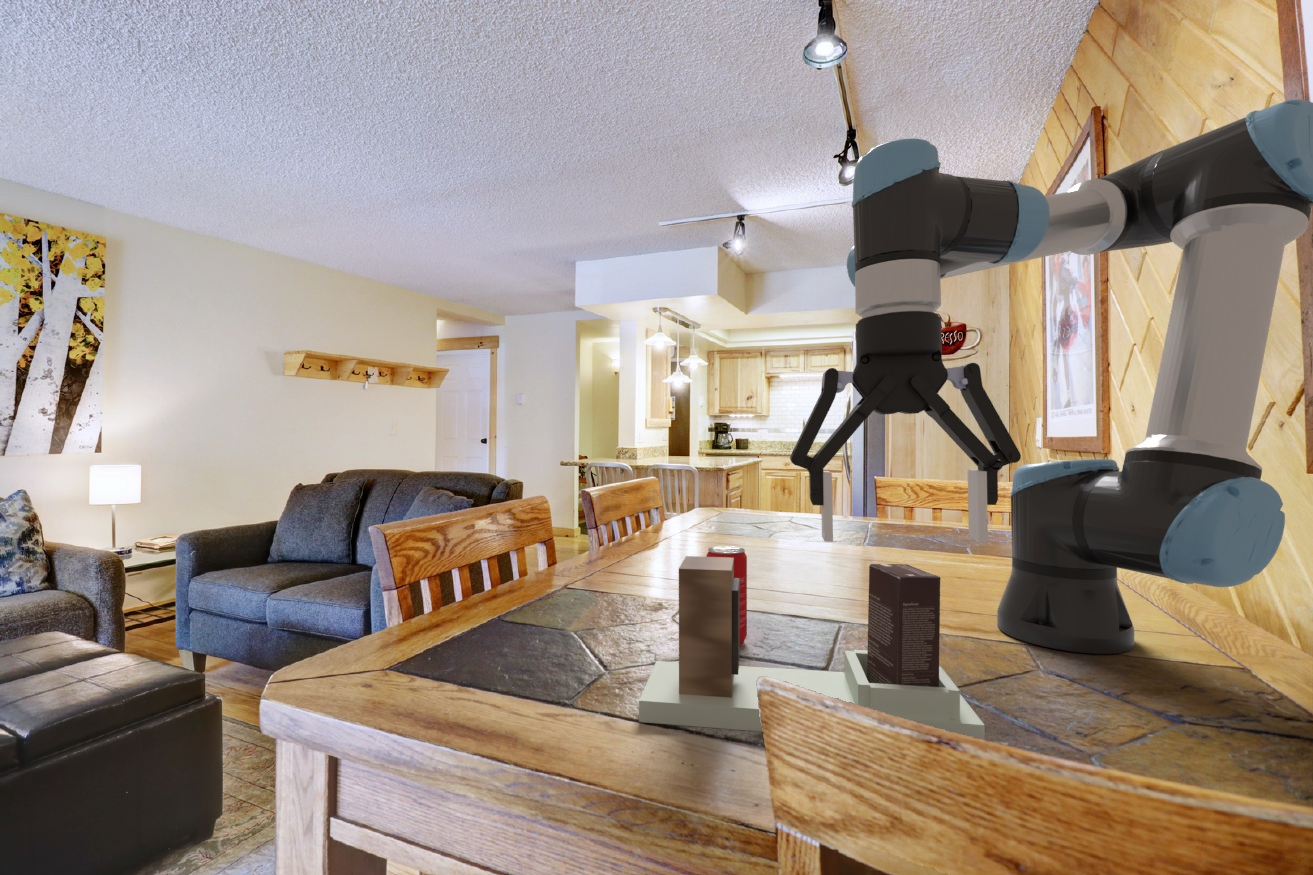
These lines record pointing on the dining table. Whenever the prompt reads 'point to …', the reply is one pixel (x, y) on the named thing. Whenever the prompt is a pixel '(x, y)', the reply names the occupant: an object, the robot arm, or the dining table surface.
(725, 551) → the beverage can
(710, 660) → the brown tall rectangular block
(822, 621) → the dining table surface
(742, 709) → the pale green holder tray
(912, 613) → the box
